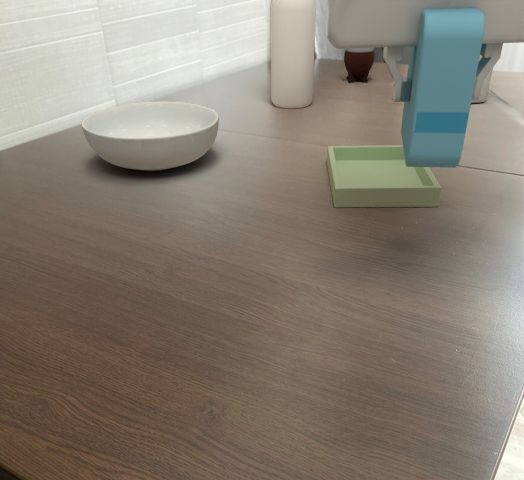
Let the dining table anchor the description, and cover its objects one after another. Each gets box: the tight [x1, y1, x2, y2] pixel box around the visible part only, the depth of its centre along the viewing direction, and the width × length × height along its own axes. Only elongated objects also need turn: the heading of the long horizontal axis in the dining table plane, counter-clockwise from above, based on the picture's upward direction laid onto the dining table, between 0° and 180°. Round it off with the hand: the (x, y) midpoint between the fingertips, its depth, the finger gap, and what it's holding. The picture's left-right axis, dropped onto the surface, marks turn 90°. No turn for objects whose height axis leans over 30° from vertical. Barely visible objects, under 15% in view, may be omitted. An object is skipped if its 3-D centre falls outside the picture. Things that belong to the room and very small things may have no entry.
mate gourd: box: [343, 47, 375, 83], centre depth 128 cm, size 8×8×15 cm
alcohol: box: [269, 0, 317, 109], centre depth 108 cm, size 9×9×30 cm
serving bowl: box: [80, 100, 220, 172], centre depth 87 cm, size 21×21×7 cm
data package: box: [400, 7, 485, 169], centre depth 50 cm, size 12×4×12 cm, turn 171°
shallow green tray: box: [326, 144, 442, 208], centre depth 79 cm, size 14×18×3 cm
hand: (433, 99), depth 51 cm, fingers closed on data package, 5 cm apart
